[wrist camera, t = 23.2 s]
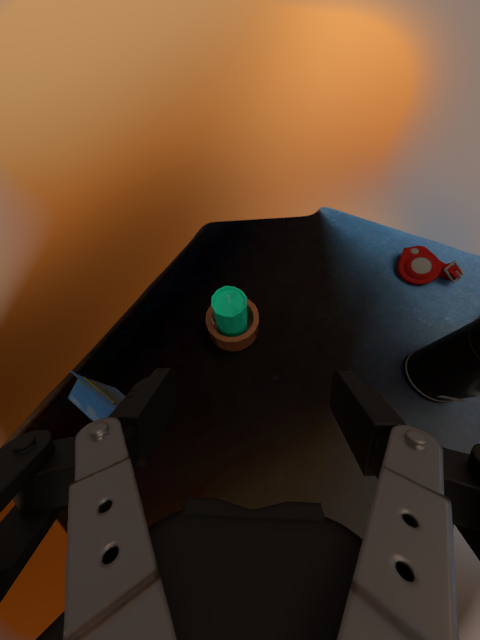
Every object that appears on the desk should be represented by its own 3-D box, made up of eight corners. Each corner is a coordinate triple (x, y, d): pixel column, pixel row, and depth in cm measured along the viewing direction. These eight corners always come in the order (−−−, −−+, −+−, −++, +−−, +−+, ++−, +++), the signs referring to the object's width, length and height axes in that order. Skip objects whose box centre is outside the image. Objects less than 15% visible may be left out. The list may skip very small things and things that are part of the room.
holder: (235, 299, 50) (233, 286, 46) (267, 328, 46) (269, 317, 42) (200, 328, 47) (195, 317, 43) (232, 361, 44) (230, 352, 39)
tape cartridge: (98, 405, 41) (43, 393, 30) (115, 386, 42) (68, 368, 31) (133, 435, 38) (86, 434, 27) (149, 415, 40) (111, 406, 29)
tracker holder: (405, 286, 49) (394, 245, 51) (397, 293, 53) (387, 255, 55) (473, 276, 46) (457, 233, 48) (458, 284, 50) (445, 244, 52)
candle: (216, 319, 47) (206, 284, 37) (243, 312, 48) (241, 276, 37) (222, 345, 45) (213, 315, 34) (251, 337, 45) (251, 306, 34)
